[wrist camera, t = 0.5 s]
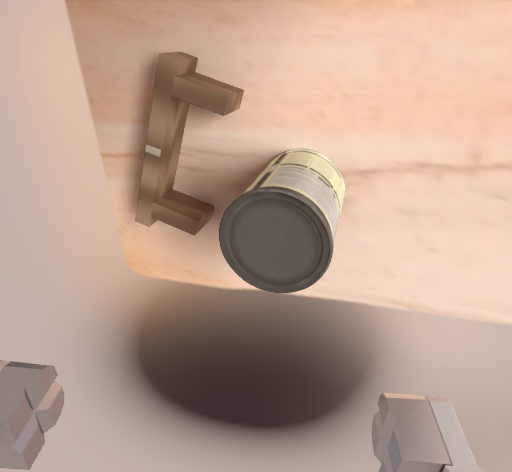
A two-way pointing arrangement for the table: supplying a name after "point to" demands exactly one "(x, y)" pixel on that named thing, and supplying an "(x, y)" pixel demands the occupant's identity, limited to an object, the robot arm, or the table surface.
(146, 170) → the walnut rail
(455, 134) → the table surface
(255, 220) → the coffee can
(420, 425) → the robot arm
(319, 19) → the table surface
